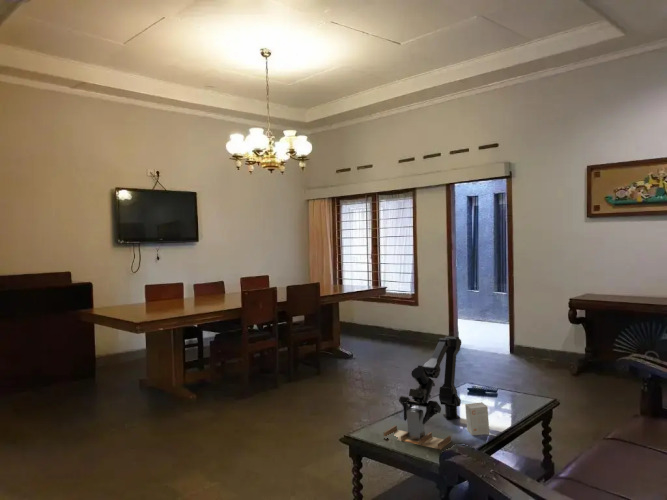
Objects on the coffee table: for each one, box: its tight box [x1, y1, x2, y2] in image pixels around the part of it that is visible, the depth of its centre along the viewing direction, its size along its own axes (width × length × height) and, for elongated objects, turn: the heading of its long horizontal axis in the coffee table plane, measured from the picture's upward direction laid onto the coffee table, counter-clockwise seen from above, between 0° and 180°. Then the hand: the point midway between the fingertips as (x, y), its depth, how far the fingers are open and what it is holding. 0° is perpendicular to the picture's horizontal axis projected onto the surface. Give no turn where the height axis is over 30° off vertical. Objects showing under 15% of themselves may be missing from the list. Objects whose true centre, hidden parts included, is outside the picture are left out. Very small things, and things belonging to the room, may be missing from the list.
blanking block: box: [406, 407, 426, 441], centre depth 224 cm, size 6×4×12 cm, turn 51°
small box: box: [465, 402, 490, 437], centre depth 227 cm, size 8×6×13 cm
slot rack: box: [383, 424, 452, 450], centre depth 224 cm, size 28×10×3 cm, turn 51°
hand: (413, 422), depth 223 cm, fingers open, 9 cm apart
